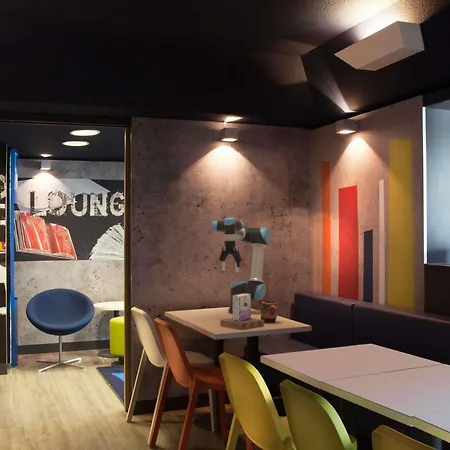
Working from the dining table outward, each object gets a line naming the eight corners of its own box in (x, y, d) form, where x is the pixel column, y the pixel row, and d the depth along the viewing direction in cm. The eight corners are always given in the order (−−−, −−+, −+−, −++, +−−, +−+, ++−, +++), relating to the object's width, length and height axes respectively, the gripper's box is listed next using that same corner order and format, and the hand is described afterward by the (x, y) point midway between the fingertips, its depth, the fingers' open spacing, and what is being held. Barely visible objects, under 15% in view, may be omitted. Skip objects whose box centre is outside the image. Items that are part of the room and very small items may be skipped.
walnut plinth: (243, 322, 405) (243, 316, 405) (264, 326, 390) (263, 320, 390) (220, 326, 392) (220, 319, 392) (241, 329, 377) (241, 323, 377)
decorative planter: (285, 323, 399) (285, 302, 399) (269, 325, 394) (269, 303, 394) (269, 319, 417) (269, 299, 417) (254, 321, 412) (254, 300, 412)
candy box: (243, 318, 398) (243, 293, 398) (251, 318, 395) (251, 293, 395) (232, 320, 387) (231, 295, 387) (239, 321, 384) (239, 295, 384)
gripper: (213, 240, 420) (214, 270, 420) (238, 241, 401) (239, 272, 402) (221, 239, 425) (222, 269, 425) (246, 240, 406) (247, 272, 407)
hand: (230, 271), depth 413 cm, fingers open, 13 cm apart
